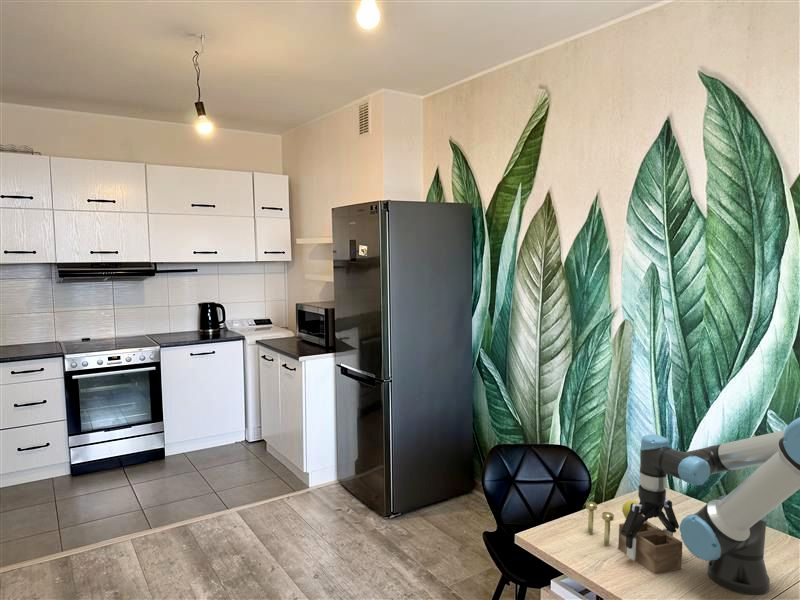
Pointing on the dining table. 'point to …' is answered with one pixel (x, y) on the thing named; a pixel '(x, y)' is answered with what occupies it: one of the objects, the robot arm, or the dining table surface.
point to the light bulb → (628, 507)
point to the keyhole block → (654, 548)
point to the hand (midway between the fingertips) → (648, 554)
